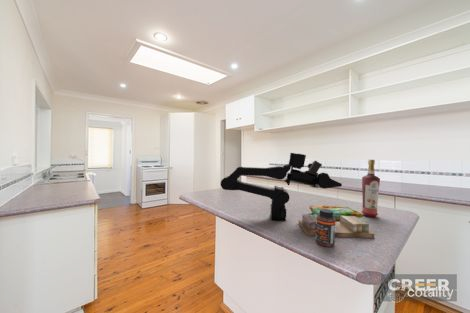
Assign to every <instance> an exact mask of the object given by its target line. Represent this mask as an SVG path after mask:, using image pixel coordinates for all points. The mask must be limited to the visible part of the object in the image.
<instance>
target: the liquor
mask: <svg viewBox="0 0 470 313" xmlns="http://www.w3.org/2000/svg"><path fill="white" fill-rule="evenodd" d="M375 162H376V160H375V159H368V160H367V164H368V167H367V174H366V175H364V176H362V177H361V187H362V190H361V191H362V192H361V194H362V210H361V214H363V216H365V217H368V218H375V217H377V216H378V215H379V213H378V203H379V202H378V201H379V193H380V181H381V179H380V178H379V176H377V175H375Z"/></svg>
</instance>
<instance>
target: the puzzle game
mask: <svg viewBox="0 0 470 313" xmlns="http://www.w3.org/2000/svg"><path fill="white" fill-rule="evenodd" d="M320 209H329V210H332V211H333V217H334V218H335V220H336V221H340V216H355V217H357V218H359V219H361V218H363V217H364V214H363V213H362V212H359V211H358V210H355V209H354V208H352V207H350V206H330V205H326V204H324V205H309V211H310V212H311V215H317V216H318V215H320Z"/></svg>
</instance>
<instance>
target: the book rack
mask: <svg viewBox="0 0 470 313" xmlns="http://www.w3.org/2000/svg"><path fill="white" fill-rule="evenodd" d="M316 220H317V215H313V214H302V219H301V220H300V219H299V220H298V225H299V226H300V227H301V229H302V230H303V232H304V233H305V234H306V236H311V237H313V236H314V237H316ZM369 225H370V224H369V223H368V222H366V221H364V220H362V219H361V218H357V217H355V216H340V220H339V221H336V226H335V238H336V237H338V238H341V237H343V238H361V239H363V238H364V239H374V238H375V233H374V232H372V231H370V228H369V227H370V226H369Z"/></svg>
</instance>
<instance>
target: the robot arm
mask: <svg viewBox="0 0 470 313" xmlns="http://www.w3.org/2000/svg"><path fill="white" fill-rule="evenodd" d="M306 158H307V155H306V154H302V153H295V152H290V155H289V160H288V163H287V164H285V165H282V166H281V165H276V166H270V167H251V166H249V167H248V166H246V167H245V166H238V167H237V168H236V169H235V170H234V171H233V172H232V173H230V174H229V176H228V175H227V176H225V177H224V178H222V179H221V180H220V187H221V188H222V189H223V190H225V191H241V192H245V193H249V194H254V195H258V196H261V197H266V198H269V199H271V204H270V211H269V212H270V214H269V217H270V220H271V221H282V222H283V221H285V222H286V221H287V208H286V204H287V203H288V202H289V201H290V194H289V192H288V190H287V189H285V188H284V187H282V186H281V187H280V186H277V185H274V187H273V188H269V187H264V186H261V185H257V184H252V183H248V182H243V181H241V180H239V178H240V177H241V176H252V177H253V176H255V177H256V176H257V177H268V178H271V179H276V180H284V182H285V183H286V184H287V186H290V184H291V182H292V183H295V184H296V183H297V184H301V185H306V186H309V187H310V188H315V189H318V188H320V189H331V188H339V187H342V186H343V183H341V182H339V181H336V180H335V179H332V178H331V177H330V174H328V172H327V173H326V172H320V173H319V172H318V171H319V170H320V168H321V167H322V166H323V164H322V163H321V162H319V161H318V160H314V161H312V163H308V164H307V168H308V170H305V171H304V170H301V169H302V168H304V166H305V162H306Z"/></svg>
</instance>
